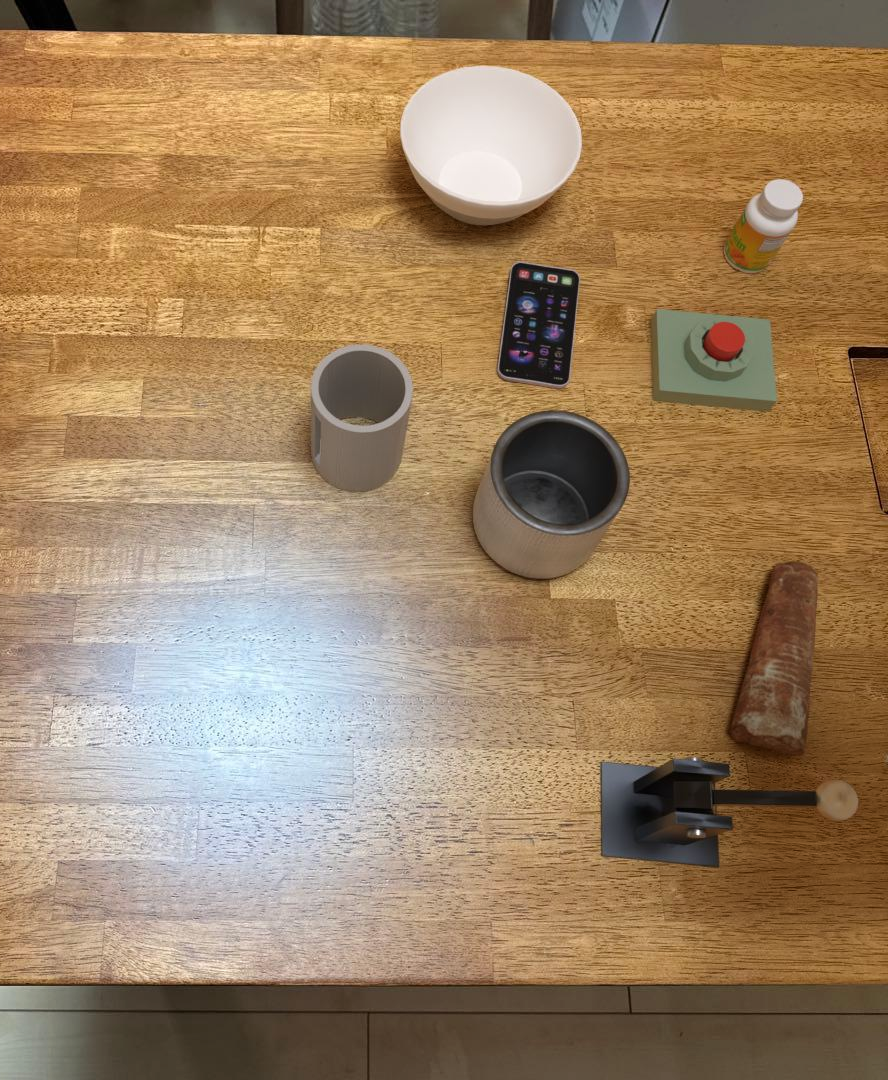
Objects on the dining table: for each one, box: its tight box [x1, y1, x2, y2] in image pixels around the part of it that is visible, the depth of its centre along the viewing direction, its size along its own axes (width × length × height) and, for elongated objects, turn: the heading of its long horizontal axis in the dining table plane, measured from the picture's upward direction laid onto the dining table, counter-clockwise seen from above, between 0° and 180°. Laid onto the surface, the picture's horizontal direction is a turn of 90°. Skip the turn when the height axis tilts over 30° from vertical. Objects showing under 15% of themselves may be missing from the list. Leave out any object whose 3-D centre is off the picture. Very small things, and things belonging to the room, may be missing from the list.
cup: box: [310, 343, 414, 493], centre depth 96 cm, size 9×9×12 cm
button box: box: [649, 308, 778, 413], centre depth 105 cm, size 12×10×4 cm
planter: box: [472, 409, 631, 580], centre depth 94 cm, size 12×13×11 cm
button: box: [704, 322, 745, 361], centre depth 103 cm, size 4×4×2 cm
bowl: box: [399, 65, 583, 227], centre depth 112 cm, size 19×19×8 cm
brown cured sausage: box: [729, 560, 819, 757], centre depth 92 cm, size 6×19×6 cm, turn 158°
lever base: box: [599, 756, 734, 868], centre depth 83 cm, size 10×8×12 cm
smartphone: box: [496, 261, 581, 389], centre depth 108 cm, size 8×1×15 cm
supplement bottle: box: [723, 178, 804, 274], centre depth 109 cm, size 5×5×10 cm
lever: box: [674, 778, 859, 822], centre depth 78 cm, size 13×3×3 cm, turn 85°
